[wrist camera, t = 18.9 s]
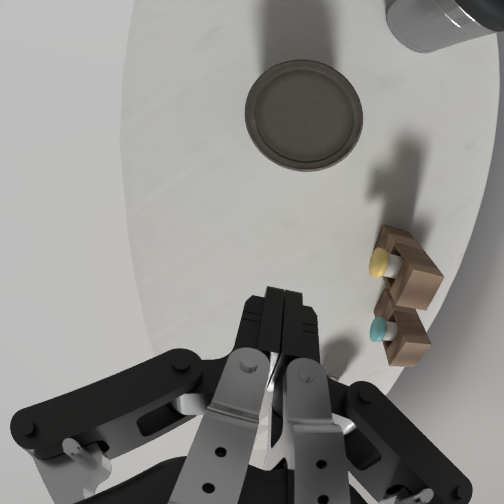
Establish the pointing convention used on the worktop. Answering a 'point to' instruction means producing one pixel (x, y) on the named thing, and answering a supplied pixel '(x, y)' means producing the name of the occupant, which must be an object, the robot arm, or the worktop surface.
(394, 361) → the walnut box
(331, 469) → the robot arm
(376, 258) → the ochre button
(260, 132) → the coffee can
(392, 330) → the teal button
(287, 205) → the worktop surface
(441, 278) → the walnut box
